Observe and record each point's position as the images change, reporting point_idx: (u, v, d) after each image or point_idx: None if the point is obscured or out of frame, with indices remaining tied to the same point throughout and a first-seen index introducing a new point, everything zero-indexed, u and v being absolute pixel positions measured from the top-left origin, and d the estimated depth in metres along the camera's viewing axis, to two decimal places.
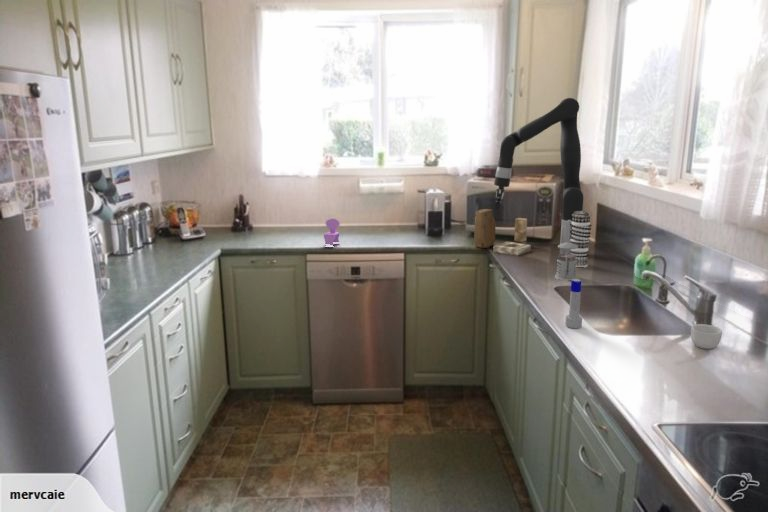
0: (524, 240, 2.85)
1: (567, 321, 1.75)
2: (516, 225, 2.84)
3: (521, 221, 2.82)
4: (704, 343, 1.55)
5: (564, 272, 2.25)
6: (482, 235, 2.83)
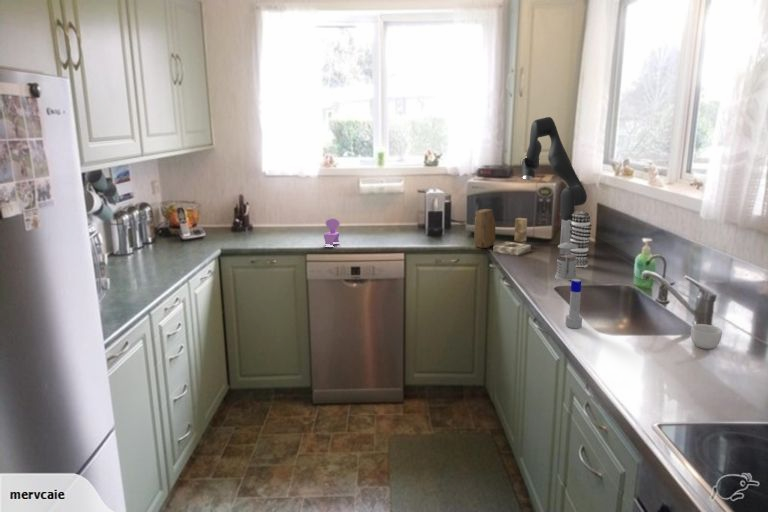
0: (524, 240, 2.85)
1: (567, 321, 1.75)
2: (516, 225, 2.84)
3: (521, 221, 2.82)
4: (704, 343, 1.55)
5: (564, 272, 2.25)
6: (482, 235, 2.83)
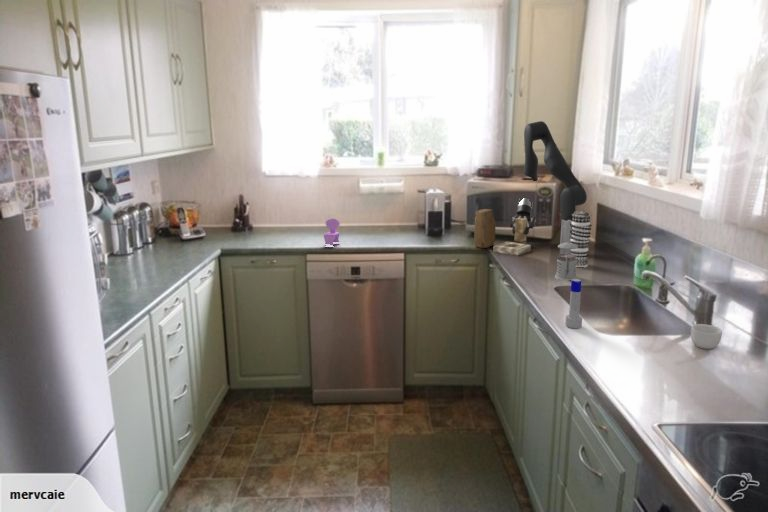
0: (524, 240, 2.85)
1: (567, 321, 1.75)
2: (516, 225, 2.84)
3: (521, 221, 2.82)
4: (704, 343, 1.55)
5: (564, 272, 2.25)
6: (482, 235, 2.83)
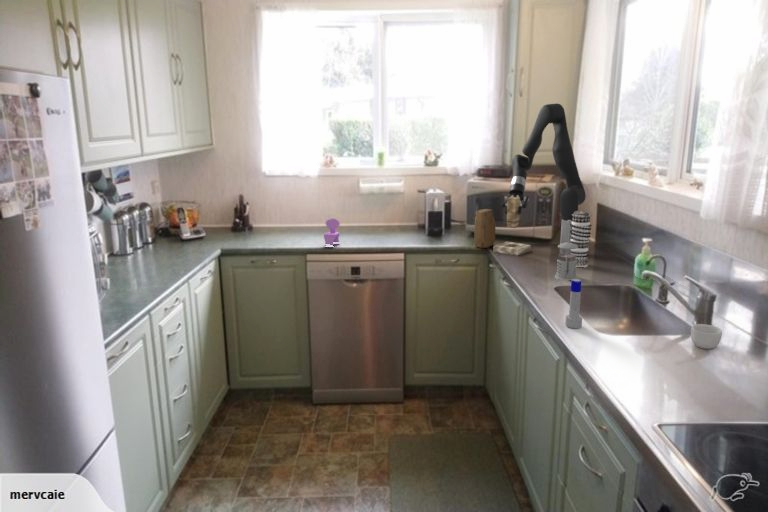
0: (517, 220, 2.73)
1: (567, 321, 1.75)
2: (508, 205, 2.71)
3: (513, 200, 2.69)
4: (704, 343, 1.55)
5: (564, 272, 2.25)
6: (482, 235, 2.83)
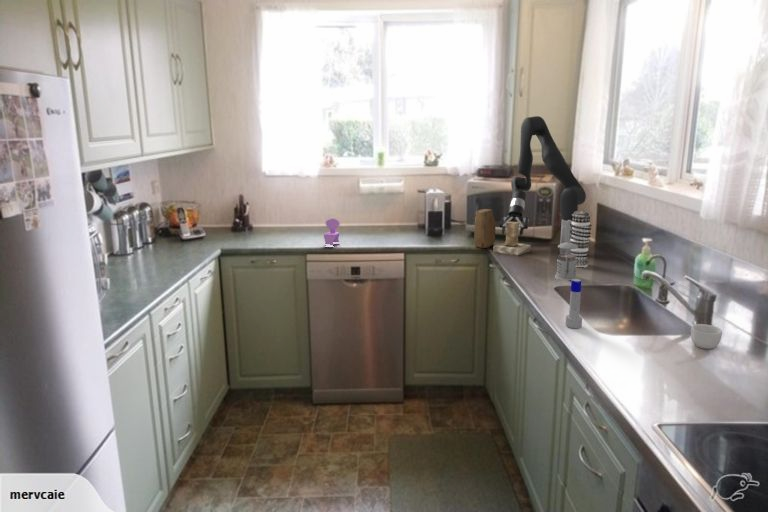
0: (516, 244, 2.76)
1: (567, 321, 1.75)
2: (507, 229, 2.75)
3: (512, 225, 2.72)
4: (704, 343, 1.55)
5: (564, 272, 2.25)
6: (482, 235, 2.83)
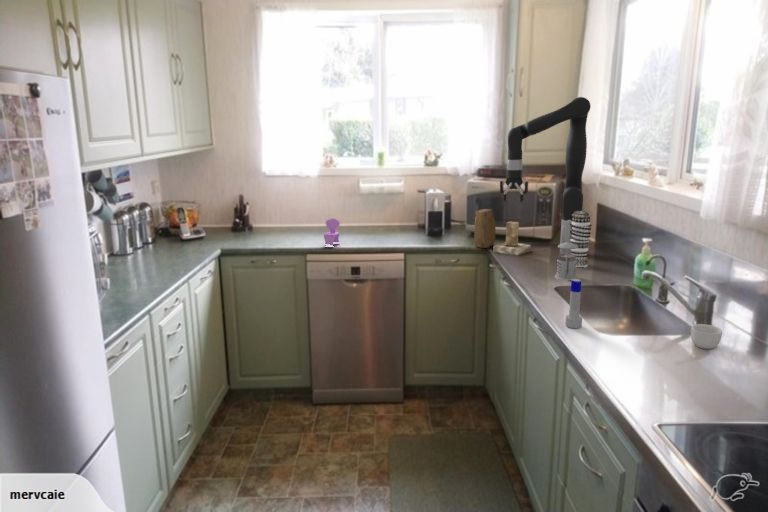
0: (516, 244, 2.76)
1: (567, 321, 1.75)
2: (507, 229, 2.74)
3: (513, 225, 2.72)
4: (704, 343, 1.55)
5: (564, 272, 2.25)
6: (482, 235, 2.83)
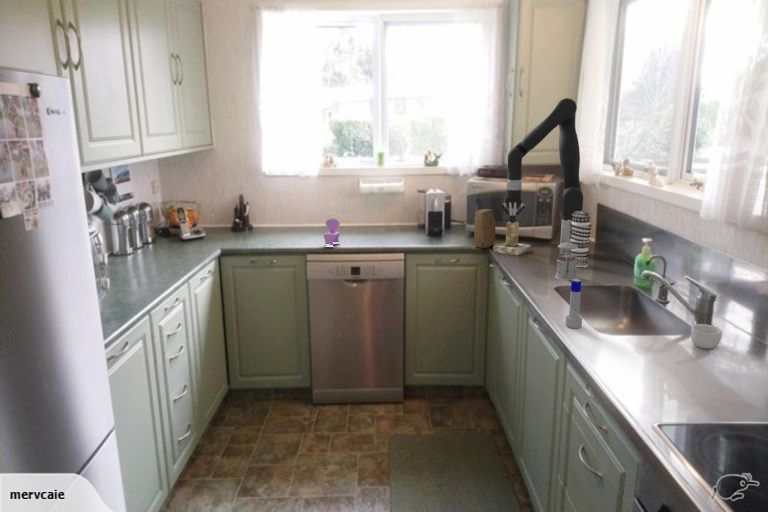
0: (516, 244, 2.76)
1: (567, 321, 1.75)
2: (507, 229, 2.74)
3: (513, 225, 2.72)
4: (704, 343, 1.55)
5: (564, 272, 2.25)
6: (482, 235, 2.83)
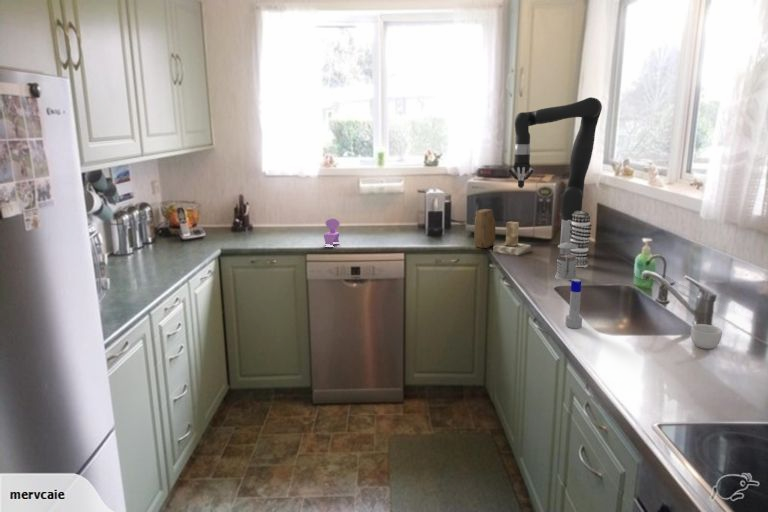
0: (516, 244, 2.76)
1: (567, 321, 1.75)
2: (507, 229, 2.74)
3: (513, 225, 2.72)
4: (704, 343, 1.55)
5: (564, 272, 2.25)
6: (482, 235, 2.83)
